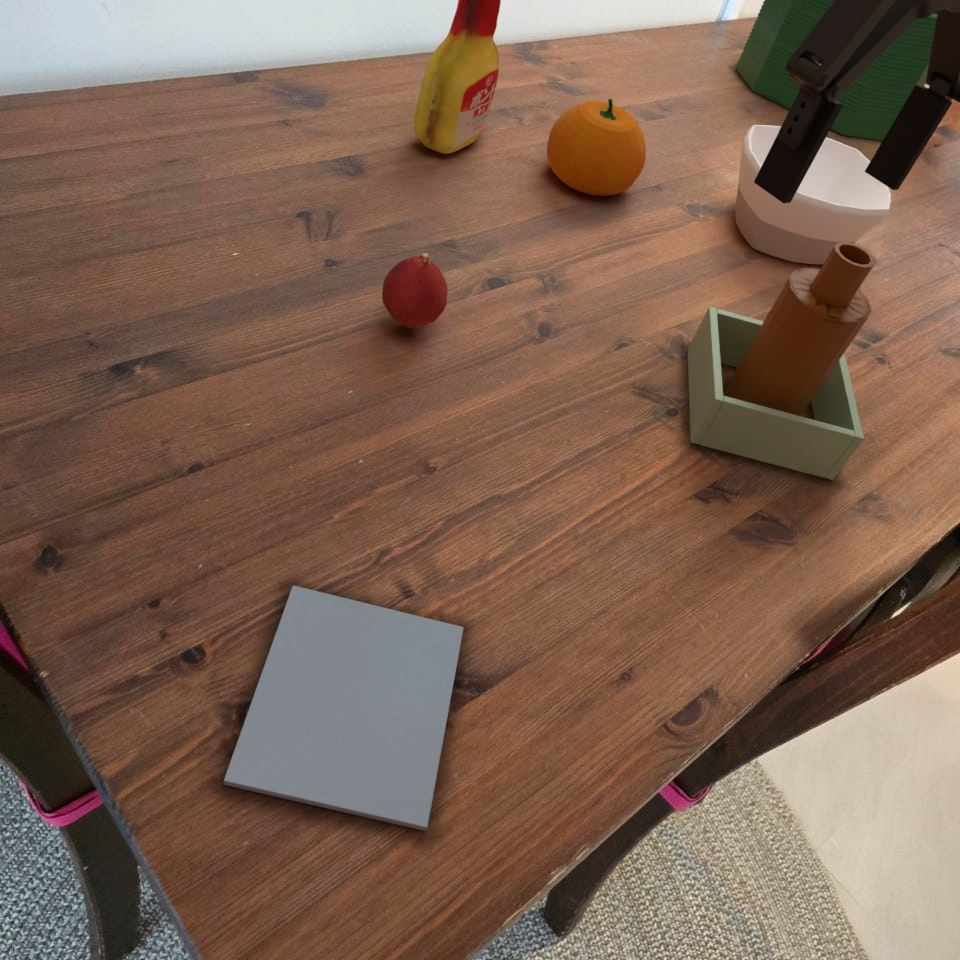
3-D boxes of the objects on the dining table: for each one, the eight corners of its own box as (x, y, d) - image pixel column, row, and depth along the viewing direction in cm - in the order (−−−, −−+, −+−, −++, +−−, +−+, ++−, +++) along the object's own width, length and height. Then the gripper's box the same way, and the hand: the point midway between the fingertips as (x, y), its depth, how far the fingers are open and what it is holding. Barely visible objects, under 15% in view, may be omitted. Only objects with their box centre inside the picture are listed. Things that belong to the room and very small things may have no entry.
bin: (832, 480, 80) (864, 439, 76) (690, 442, 80) (715, 399, 76) (814, 384, 90) (842, 342, 86) (687, 349, 89) (709, 306, 85)
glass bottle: (795, 447, 82) (905, 291, 69) (722, 427, 82) (818, 267, 69) (788, 396, 87) (888, 242, 74) (718, 378, 87) (807, 219, 74)
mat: (425, 831, 52) (427, 827, 51) (223, 784, 51) (223, 780, 50) (462, 631, 61) (464, 626, 61) (292, 589, 60) (292, 584, 60)
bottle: (461, 117, 111) (498, -57, 96) (500, 141, 109) (544, -33, 94) (397, 141, 103) (427, -44, 89) (438, 167, 102) (475, -17, 87)
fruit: (543, 197, 102) (568, 115, 95) (536, 146, 110) (558, 66, 103) (639, 215, 105) (670, 136, 97) (625, 163, 112) (653, 87, 105)
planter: (778, 41, 155) (830, -74, 142) (915, 105, 149) (983, -8, 136) (722, 76, 139) (775, -50, 126) (874, 151, 132) (946, 26, 119)
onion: (366, 328, 80) (377, 255, 74) (394, 297, 84) (407, 225, 78) (423, 355, 80) (439, 282, 74) (449, 322, 83) (466, 251, 78)
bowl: (725, 262, 102) (762, 189, 95) (703, 182, 114) (734, 112, 107) (866, 292, 104) (912, 223, 97) (830, 211, 116) (868, 144, 109)
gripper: (1068, -163, 57) (881, 152, 71) (857, -247, 42) (676, 168, 56) (1179, -123, 53) (959, 201, 67) (989, -201, 39) (760, 230, 53)
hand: (829, 186), depth 62 cm, fingers open, 13 cm apart
